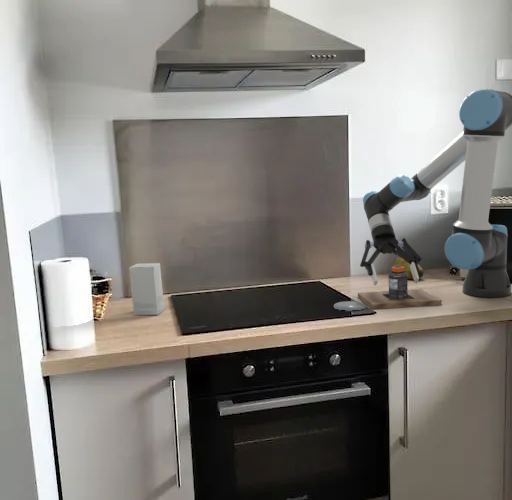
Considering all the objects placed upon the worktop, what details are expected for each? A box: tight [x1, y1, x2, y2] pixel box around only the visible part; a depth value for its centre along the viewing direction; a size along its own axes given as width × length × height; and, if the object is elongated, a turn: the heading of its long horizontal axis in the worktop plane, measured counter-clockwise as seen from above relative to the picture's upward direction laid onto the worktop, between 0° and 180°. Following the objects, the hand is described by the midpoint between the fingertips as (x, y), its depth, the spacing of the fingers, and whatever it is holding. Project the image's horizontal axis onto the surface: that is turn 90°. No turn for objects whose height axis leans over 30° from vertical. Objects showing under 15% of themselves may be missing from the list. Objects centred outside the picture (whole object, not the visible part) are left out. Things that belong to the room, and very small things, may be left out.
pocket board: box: [357, 288, 442, 310], centre depth 182 cm, size 22×16×2 cm
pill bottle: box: [388, 265, 409, 300], centre depth 182 cm, size 6×6×11 cm
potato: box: [393, 256, 424, 280], centre depth 217 cm, size 8×13×8 cm, turn 10°
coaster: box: [333, 300, 367, 312], centre depth 177 cm, size 10×10×1 cm
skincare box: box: [128, 262, 165, 316], centre depth 178 cm, size 8×7×16 cm
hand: (396, 282), depth 181 cm, fingers open, 13 cm apart
